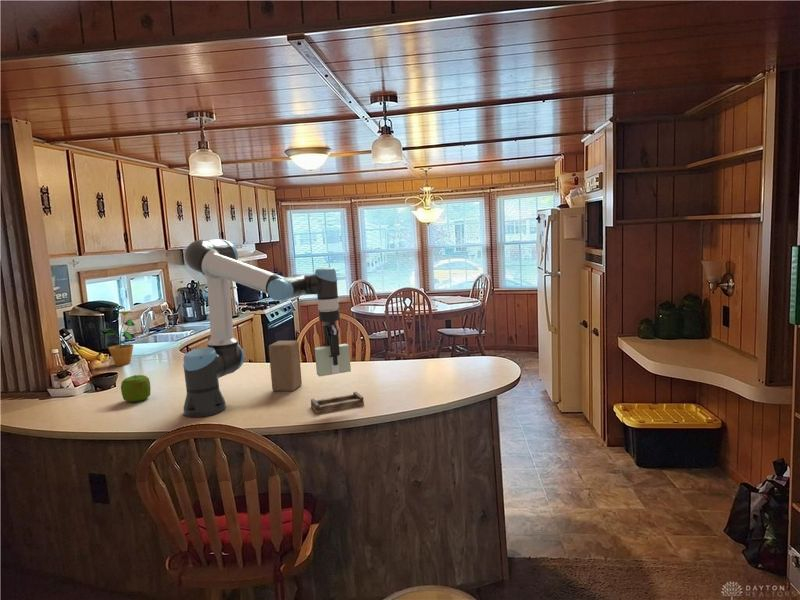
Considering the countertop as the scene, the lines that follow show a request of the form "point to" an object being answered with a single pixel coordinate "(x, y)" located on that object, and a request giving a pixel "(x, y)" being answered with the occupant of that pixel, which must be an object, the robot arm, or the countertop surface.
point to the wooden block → (285, 365)
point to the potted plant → (121, 352)
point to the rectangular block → (325, 361)
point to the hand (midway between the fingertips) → (333, 371)
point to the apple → (135, 388)
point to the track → (337, 403)
